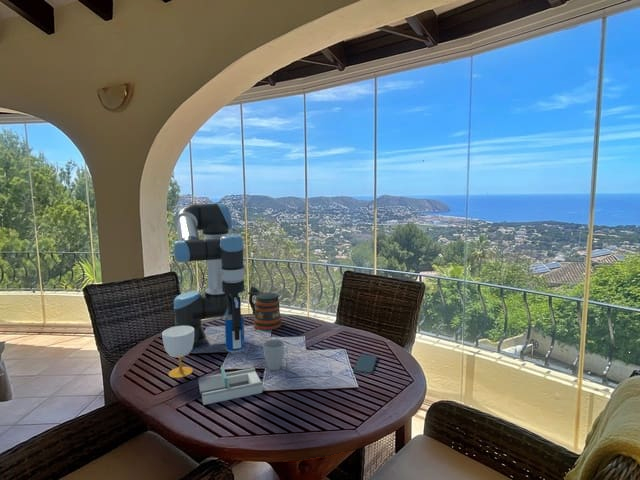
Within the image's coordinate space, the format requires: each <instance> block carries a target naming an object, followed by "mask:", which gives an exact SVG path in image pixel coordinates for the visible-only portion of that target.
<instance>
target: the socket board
mask: <svg viewBox="0 0 640 480" xmlns="http://www.w3.org/2000/svg"><path fill="white" fill-rule="evenodd" d="M225 373H226V375H227V381H228V388H226V389H221V390H216V391H211V392H206V393H203V394H201V399H202V404H203V405H204V406H205V405H209V404H214V403H219V402H224V401H230V400H234V399H239V398H245V397H249V396H254V395H257V394H261V393H263V381H262V380H261V379H260V377H259V375H258V373H257V372H256V367H251V368H246V369H239V370H236V371H235V370H234V371H229V372H225ZM219 375H221V373H220V374H213V375H207V376H202V377H199V379H203V378H208V377H213V376H219Z"/></svg>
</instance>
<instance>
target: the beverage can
mask: <svg viewBox="0 0 640 480" xmlns="http://www.w3.org/2000/svg"><path fill="white" fill-rule="evenodd" d="M241 327H242V330H241V348H236V349H233V337H232V331H231V330H232V329H233V323H232V314H231V315H228V316H225V319H224V330H225V332H224V334H225V335H224V336H225V349H226V350H227V351H228V352H230V353H239V352H241V351H243V349H245V347H246V345H245V342H246V341H245V340H246V339H245V319H244V318H243V314H241Z"/></svg>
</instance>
